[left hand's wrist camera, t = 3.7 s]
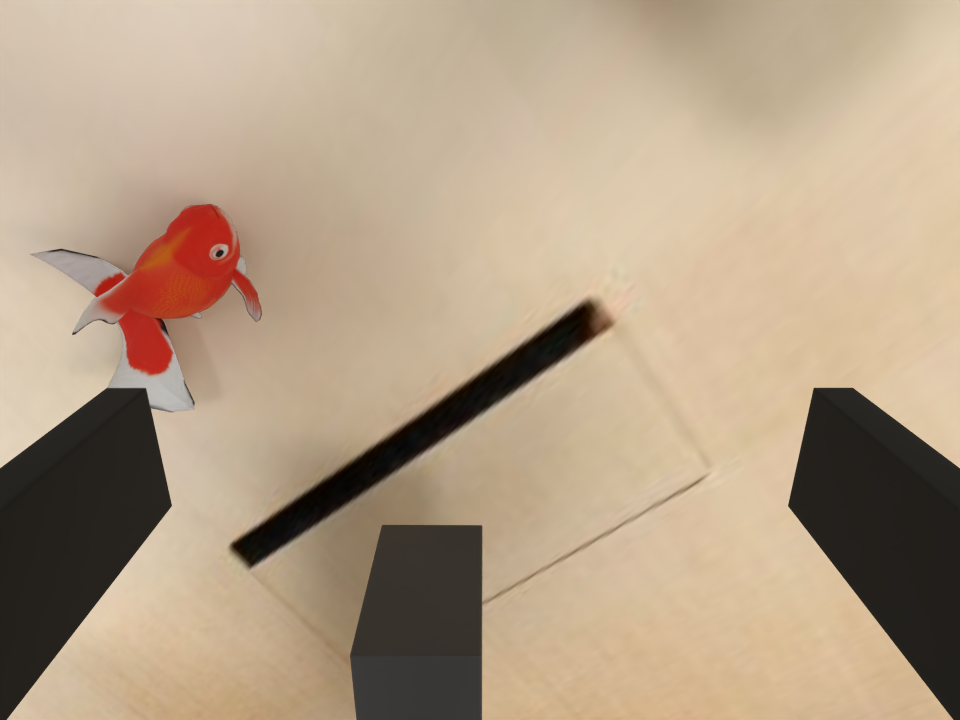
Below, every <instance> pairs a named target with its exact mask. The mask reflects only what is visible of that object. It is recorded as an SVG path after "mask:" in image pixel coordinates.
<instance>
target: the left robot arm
mask: <svg viewBox="0 0 960 720" xmlns="http://www.w3.org/2000/svg"><path fill="white" fill-rule="evenodd" d="M171 506H172V504H171V500H170V495H169V490H168V486H167V481H166V477H165V472H164V468H163V463H162V458H161V454H160V449H159V445H158V440H157V435H156V431H155V426H154V422H153V417H152V413H151V408H150V403H149V399H148V394H147V390H146V388H106V389H105V390H104V391H102V392H101V393H100V394H98V395H97V396H96V397H94V398H93V399H92V400H90V401H89V402H88V403H86V404H85V405H84V406H83V407H81V408H80V409H79V410H77V411H76V412H75V413H73V414H72V415H71V416H69V417H68V418H67V419H65V420H64V421H63V422H61V423H60V424H59V425H57V426H56V427H55V428H53V429H52V430H51V431H49V432H48V433H47V434H45V435H44V436H43V437H41V438H40V439H39V440H37V441H36V442H35V443H33V444H32V445H31V446H29V447H28V448H27V449H25V450H24V451H23V452H21V453H20V454H19V455H17V456H16V457H15V458H13V459H12V460H11V461H9V462H8V463H7V464H5V465H4V466H3V467H1V468H0V720H7V718H8V717H9V716H10V715H11V713H12V712H13V711H14V709H15V708H16V707H17V705H18V704H19V703H20V702H21V700H22V699H23V698H24V696H25V695H26V694H27V693H28V691H29V690H30V689H31V687H32V686H33V685H34V684H35V682H36V681H37V680H38V678H39V677H40V676H41V674H42V673H43V672H44V671H45V669H46V668H47V667H48V665H49V664H50V663H51V662H52V660H53V659H54V658H55V656H56V655H57V654H58V652H59V651H60V650H61V649H62V647H63V646H64V645H65V643H66V642H67V641H68V640H69V638H70V637H71V636H72V634H73V633H74V632H75V630H76V629H77V628H78V627H79V625H80V624H81V623H82V621H83V620H84V619H85V618H86V616H87V615H88V614H89V612H90V611H91V610H92V608H93V607H94V606H95V605H96V603H97V602H98V601H99V599H100V598H101V597H102V596H103V594H104V593H105V592H106V590H107V589H108V588H109V587H110V585H111V584H112V583H113V581H114V580H115V579H116V577H117V576H118V575H119V574H120V572H121V571H122V570H123V568H124V567H125V566H126V565H127V563H128V562H129V561H130V559H131V558H132V557H133V555H134V554H135V553H136V552H137V550H138V549H139V548H140V546H141V545H142V544H143V543H144V541H145V540H146V539H147V537H148V536H149V535H150V533H151V532H152V531H153V530H154V528H155V527H156V526H157V524H158V523H159V522H160V521H161V519H162V518H163V517H164V515H165V514H166V513H167V512H168V510H169V509H170V508H171ZM788 506H789V508H790V509H791V510H792V512H793V513H794V514H795V515H796V517H797V518H798V519H799V521H800V522H801V523H802V524H803V526H804V527H805V528H806V530H807V531H808V532H809V533H810V535H811V536H812V537H813V539H814V540H815V541H816V543H817V544H818V545H819V546H820V548H821V549H822V550H823V552H824V553H825V554H826V555H827V557H828V558H829V559H830V561H831V562H832V563H833V565H834V566H835V567H836V568H837V570H838V571H839V572H840V574H841V575H842V576H843V577H844V579H845V580H846V581H847V583H848V584H849V585H850V587H851V588H852V589H853V590H854V592H855V593H856V594H857V596H858V597H859V598H860V599H861V601H862V602H863V603H864V605H865V606H866V607H867V609H868V610H869V611H870V612H871V614H872V615H873V616H874V618H875V619H876V620H877V621H878V623H879V624H880V625H881V627H882V628H883V629H884V630H885V632H886V633H887V634H888V636H889V637H890V638H891V640H892V641H893V642H894V643H895V645H896V646H897V647H898V649H899V650H900V651H901V652H902V654H903V655H904V656H905V658H906V659H907V660H908V662H909V663H910V664H911V665H912V667H913V668H914V669H915V671H916V672H917V673H918V674H919V676H920V677H921V678H922V680H923V681H924V682H925V684H926V685H927V686H928V687H929V689H930V690H931V691H932V693H933V694H934V695H935V696H936V698H937V699H938V700H939V702H940V703H941V704H942V705H943V707H944V708H945V709H946V711H947V712H948V713H949V715H950V716H951V717H952V718H953V720H960V468H959V467H957V466H956V465H955V464H953V463H952V462H951V461H949V460H948V459H947V458H945V457H944V456H943V455H941V454H940V453H939V452H937V451H936V450H935V449H933V448H932V447H931V446H929V445H928V444H927V443H925V442H924V441H923V440H921V439H920V438H919V437H917V436H916V435H915V434H913V433H912V432H911V431H909V430H908V429H907V428H905V427H904V426H903V425H901V424H900V423H899V422H897V421H896V420H895V419H893V418H892V417H891V416H889V415H888V414H887V413H885V412H884V411H883V410H881V409H880V408H879V407H877V406H876V405H875V404H874V403H872V402H871V401H870V400H868V399H867V398H866V397H864V396H863V395H862V394H860V393H859V392H858V391H856V390H855V389H854V388H814V390H813V394H812V399H811V403H810V408H809V413H808V417H807V422H806V426H805V431H804V435H803V440H802V445H801V449H800V454H799V458H798V463H797V468H796V472H795V477H794V481H793V486H792V490H791V495H790V500H789V504H788Z"/></svg>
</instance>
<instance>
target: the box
mask: <svg viewBox="0 0 960 720" xmlns="http://www.w3.org/2000/svg"><path fill="white" fill-rule="evenodd" d="M350 659H351V669H352V679H353V689H354V699H355V709H356V718H357V720H482V526H481V525H382V528H381V532H380V536H379V540H378V544H377V548H376V552H375V556H374V560H373V564H372V568H371V573H370V577H369V581H368V585H367V589H366V593H365V597H364V601H363V605H362V609H361V613H360V617H359V621H358V626H357V630H356V634H355V638H354V642H353V646H352V650H351V654H350Z"/></svg>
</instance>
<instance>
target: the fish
mask: <svg viewBox="0 0 960 720" xmlns="http://www.w3.org/2000/svg"><path fill="white" fill-rule="evenodd" d="M30 255H33V256H35V257H37V258H39V259H41V260H43V261H45V262H47V263H48V264H50V265H52V266H54V267H55V268H57V269H58V270H60V271H62V272H63V273H65V274H66V275H68V276H69V277H71V278H73V279H74V280H75V281H77V282H78V283H80V284H81V285H82V286H84V287H85V288H86V289H88V290H89V291H90V292H91V293H93V294H94V295H95V296H96V297H97V298H95V299H93V300H92V302H91V303H90V304H89V306H88V307H87V308H86V310H85V311H84V312H83V314H82V316H81V318H80V320H79V322H78V323H77V325H76V327H75V329H74V331H73V334H72V335H74V334H76V333H77V332H78V331H80V330H81V329H82V328H84V327H85V326H86V325H88V324H89V323H91V322H93V321H96V320H102V321H104V322H106V323H108V324H115V323H116V322H117V323H118V326H119V328H120V331H121V334H122V341H123V349H122V355H121V359H120V362H119V364H118V367H117V369H116V371H115V373H114V375H113V377H112V379H111V381H110V382H109V385H108V388H146V390H147V394H148V399H149V403H150V408H153V409H158V410H163V411H168V412H177V411H184V410H191V409H194V403H195V402H194V400H193V398H192V396H191V394H190V392H189V390H188V388H187V386H186V384H185V381H184V378H183V375H182V372H181V369H180V366H179V363H178V360H177V357H176V354H175V351H174V349H173V346H172V343H171V340H170V338H169V335H168V332H167V329H166V326H165V324H164V322H163V320H162V319H170V318H183V317H187V316H193V317H195V318H198V319H200V318H202V316H201V315H200V313H199V312H201V311H203V310H205V309H207V308H209V307H211V306H212V305H213V304H214V303H215V302H216V301H218V300H219V299H220V298H221V297H222V296H223V295H224V294H225V292H226V291H227V290H228V288H229V286H230V284H231V283H232V284H233V286H234V287H235V288H236V289H237V290H238V291H239V292H240V293H241V295H242V296H243V298H244V300H245V304H246V307H247V310H248V313H249V314H250V316H251V317H252V318H253V319H254V320H255V321H256V322H257V321H259V320H260V318H261V315H262V312H261V306H260V303H259V299H258V294H257V292H256V290H255V288H254V287H253V285H252V284H251V282H250V281H249V279H248V278H247V277H246V276H244V274H246V272H247V270H246V265H245V261H244V258H243V257H240V245H239V240H238V236H237V233H236V230H235V228H234V226H233V223H232V221H231V220H230V218H229V217H228V216H227V215H226V214H225V213H224V212H223V211H222V210H221V209H220V208H218V207H217V206H215V205H211V204H207V205H192V206H188V207H186V208H184V209H183V211H182V212H181V213H180V215H179V216H178V217H177V218H176V219H175V220H174V221H173V222H172V223H171V224H170V225H169V227H168V229H167V232H166V234H164V235H163V236H162V237H160V238H158V239H157V240H155V241H154V242H153V243H151V244H150V246H149V247H148V248H147V249H146V250H145V252H144V253H143V254H142V255H141V257H140V258H139V260H138V262H137V264H136V266H135V268H134V271H133V272H132V273H131V274H129V275H127V274H126V273H125V272H123V271H122V270H121V269H119V268H117V267H116V266H114V265H112V264H110V263H108V262H106V261H104V260H102V259H100V258H98V257H95V256H91V255H86V254H82V253H78V252H73V251H69V250H64V249H57V250H52V251H46V252H40V253H34V254H30Z"/></svg>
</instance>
